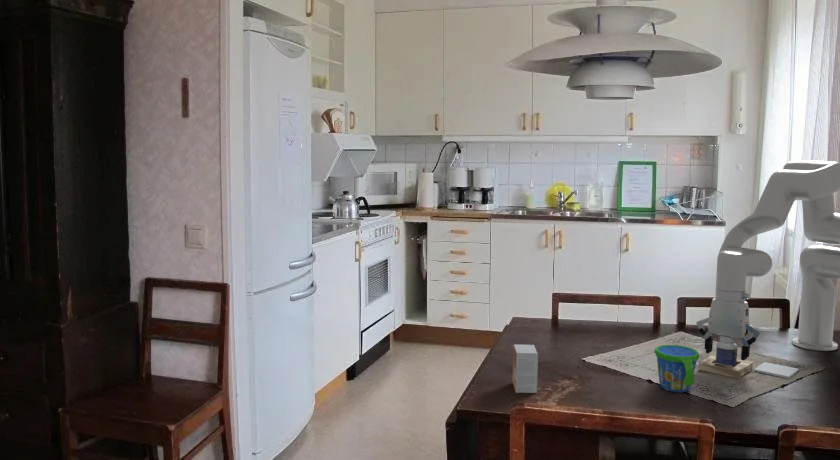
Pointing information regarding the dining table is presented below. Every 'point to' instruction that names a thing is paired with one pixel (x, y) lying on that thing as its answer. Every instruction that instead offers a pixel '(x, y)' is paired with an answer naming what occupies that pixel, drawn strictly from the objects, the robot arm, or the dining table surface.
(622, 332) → the dining table surface
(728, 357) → the pill bottle
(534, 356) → the small box
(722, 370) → the socket plate
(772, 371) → the coaster
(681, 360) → the snack cup
